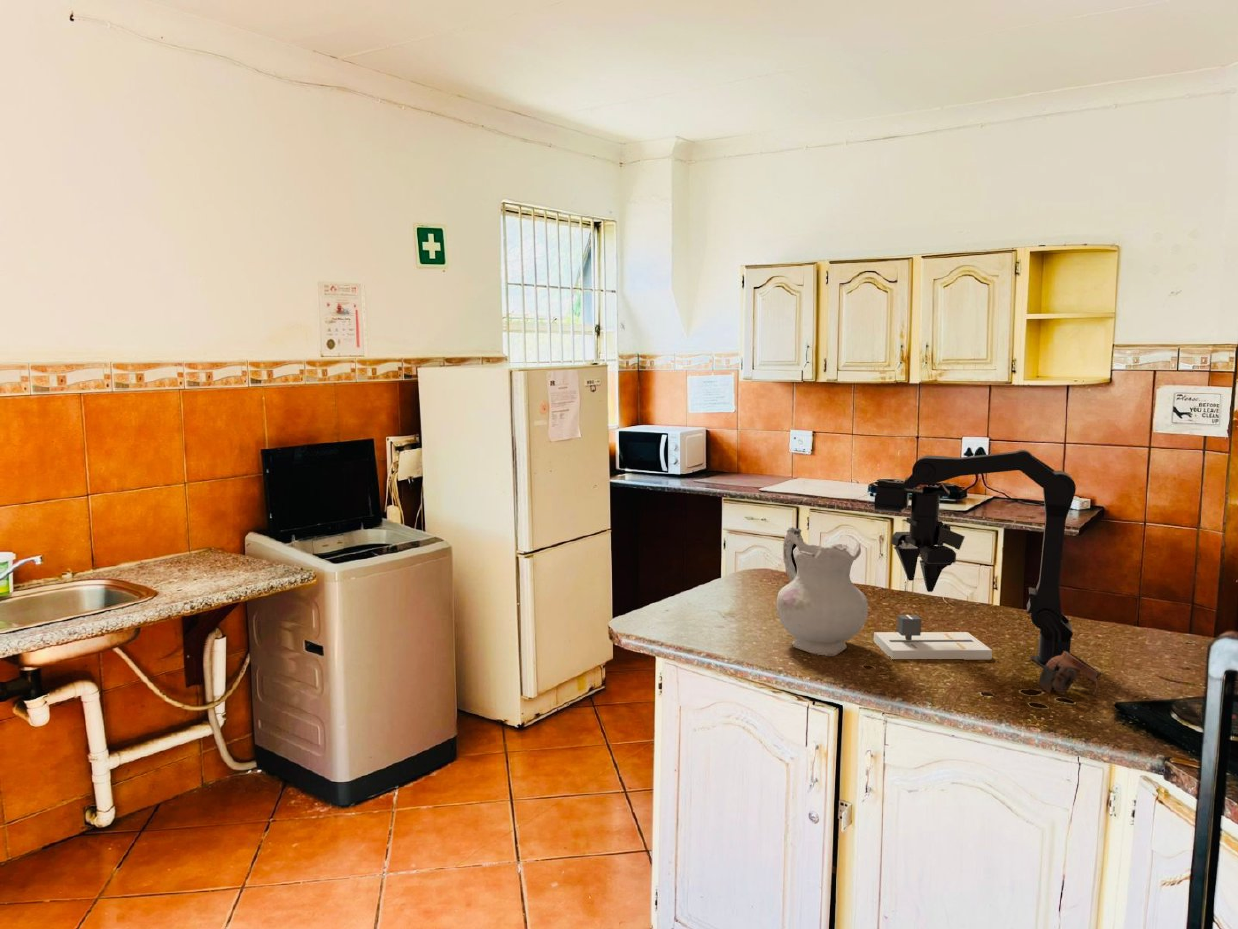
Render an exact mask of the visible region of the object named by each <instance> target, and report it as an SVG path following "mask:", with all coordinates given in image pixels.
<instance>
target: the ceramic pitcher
mask: <svg viewBox="0 0 1238 929" xmlns="http://www.w3.org/2000/svg"><path fill="white" fill-rule="evenodd" d="M802 531H803V530H802V529H800V528H795V527H788V529H787V530H786V534H785V535H784V540H783V544H782V545H783V547H782V549H783V550H782V552H783V553H782V555H783V556H782V557H783V563H784V567H785V573H786V575H787V577H788V578H789V581H790V582H789V583H787V584H786V585H785V586H783V587H782V588H781V589H780V590H779V591H778V594H777V598H776V609H777V615H778V618H779V621H780V624H781V625H782V626H783V628H784V629H785V630H786V631H787V632H788V633H789V634H790V635H791V636H793V637H795V639H794V640H795V641H794V640H793V641H792V644H793V646H792V645H791V646H792V648H796V649H798V650H801V651H803V652H807V653H810V654H813V655H816V654H817V655H816V656H819V655H825V656H824V657H835V656H837V655H839V653H842V652H843V651H844V650H846V649H847V648H848V647H847V644H846V641H848V640H850V639H852V638H854V637H855V636H856V635H857V634H858V633H860V631H861V630H862V629H863V627H864V625H865V624H866V620H867V616H868V614H869V603H868V599H867V596H866V595H865V594H864V593H863V592H862V591H861V590H860V589H859V588H858V587H857V586H856V585H855V584H853V582H852V580H851V575H850V574H851V568H852V565H853V563H854V561H857V559H858V557H860V555H861V554H862V553H861V552H862V549H861V548H862V547H861V543H859V542H856V544H855V545H854V547H853V548H850V547H849V546H848V544H843V543H842V544H840V543H839V544H833V545H829V546H821V545H817V544H816V545H815V544H808V543H806V542H805V541H804V538H803V536H802V534H801V533H802ZM794 545H796V546H795V548H793V546H794ZM792 548H793V550H792ZM792 554H793V558H794V561H795V564H796V567H795V566H794V563H793V562H794V561H793V560H792Z"/></svg>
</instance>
